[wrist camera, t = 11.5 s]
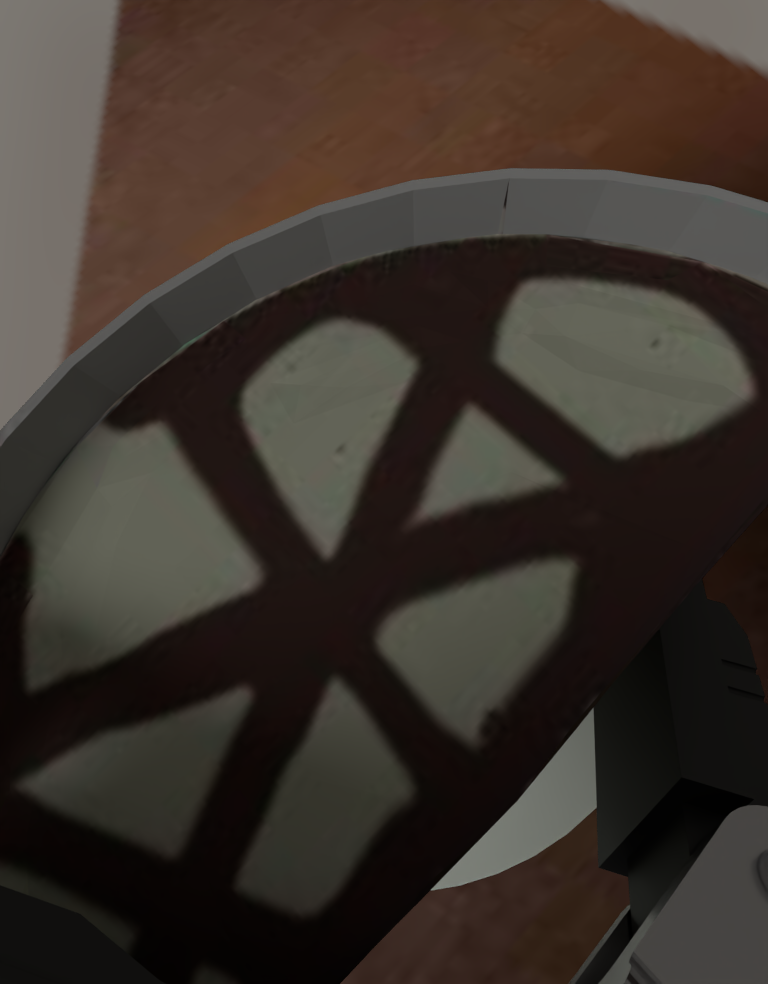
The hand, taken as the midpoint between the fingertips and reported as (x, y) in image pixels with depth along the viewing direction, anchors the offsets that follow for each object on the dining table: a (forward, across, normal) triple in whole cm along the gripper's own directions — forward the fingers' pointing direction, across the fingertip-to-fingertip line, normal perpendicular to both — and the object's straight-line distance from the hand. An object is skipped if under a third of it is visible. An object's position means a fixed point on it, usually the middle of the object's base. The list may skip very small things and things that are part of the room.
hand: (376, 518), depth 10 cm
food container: (+3, 0, +5) cm, 6 cm away
